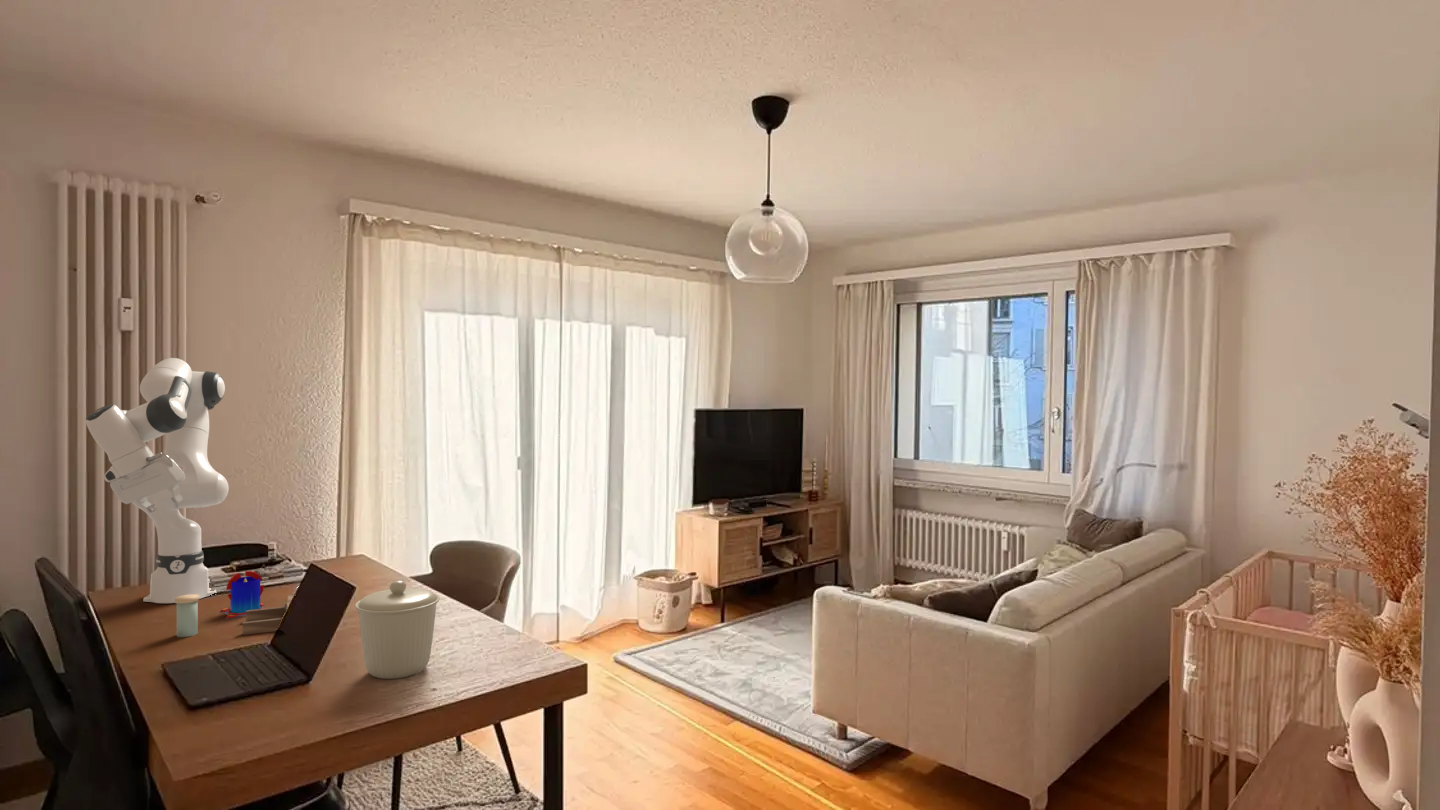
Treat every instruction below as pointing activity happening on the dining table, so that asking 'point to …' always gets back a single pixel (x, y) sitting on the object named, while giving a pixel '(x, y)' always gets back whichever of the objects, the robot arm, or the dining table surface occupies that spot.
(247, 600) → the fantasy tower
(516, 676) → the dining table surface
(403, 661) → the canister
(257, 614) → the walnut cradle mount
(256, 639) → the dining table surface
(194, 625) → the grey-green capped cylinder
